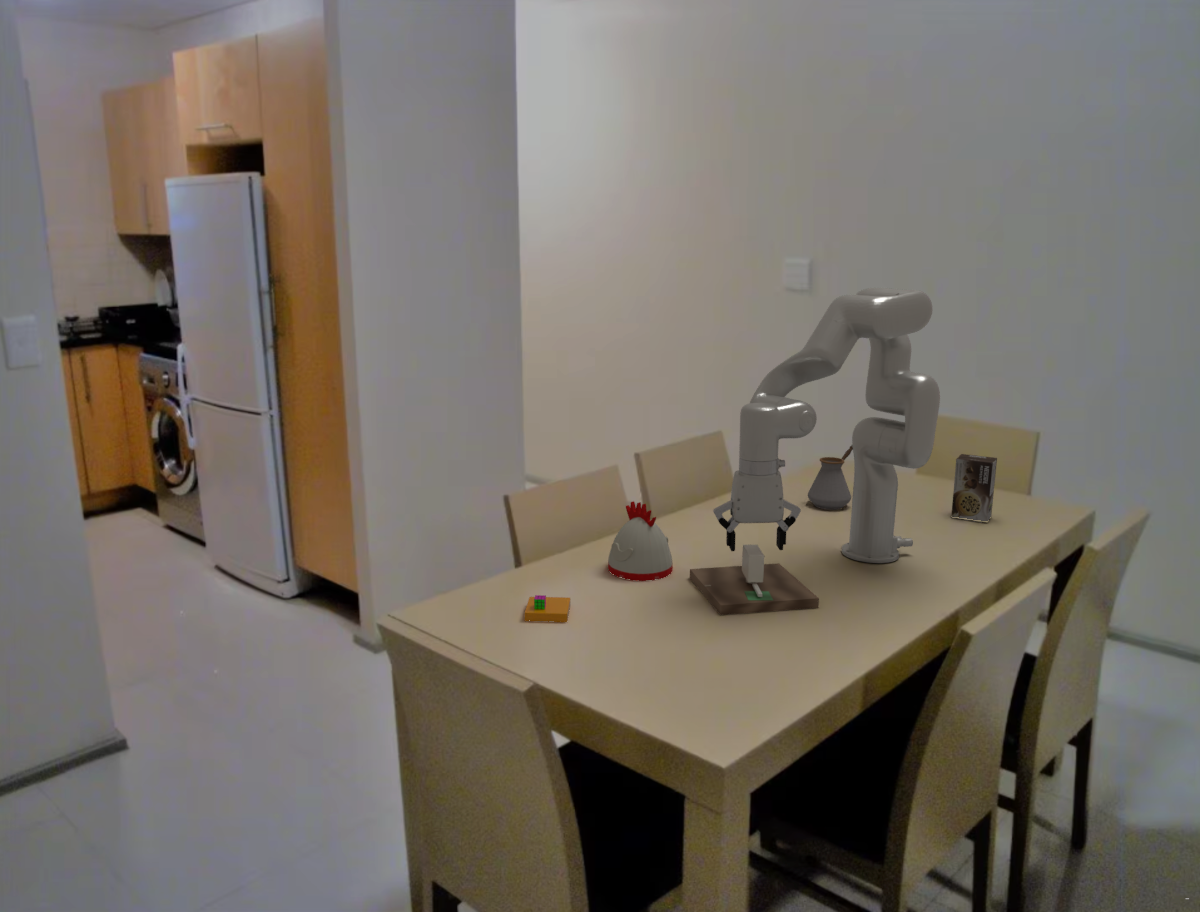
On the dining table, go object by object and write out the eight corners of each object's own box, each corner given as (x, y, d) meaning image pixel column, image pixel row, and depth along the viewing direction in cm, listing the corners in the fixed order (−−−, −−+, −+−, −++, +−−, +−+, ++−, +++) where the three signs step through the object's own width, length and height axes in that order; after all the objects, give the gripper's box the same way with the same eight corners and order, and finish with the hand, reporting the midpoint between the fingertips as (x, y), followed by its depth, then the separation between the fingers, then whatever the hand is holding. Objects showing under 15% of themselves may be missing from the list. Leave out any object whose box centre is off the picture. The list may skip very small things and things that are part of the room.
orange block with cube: (529, 607, 178) (529, 586, 177) (570, 608, 178) (570, 587, 177) (524, 623, 170) (524, 602, 170) (567, 624, 170) (567, 603, 169)
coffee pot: (839, 514, 239) (843, 458, 236) (799, 506, 246) (802, 452, 243) (871, 497, 256) (876, 445, 252) (833, 490, 263) (837, 439, 259)
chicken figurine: (638, 554, 208) (640, 490, 204) (685, 570, 198) (687, 503, 195) (594, 569, 198) (595, 502, 195) (641, 586, 188) (642, 516, 185)
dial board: (778, 572, 197) (779, 562, 197) (818, 607, 178) (819, 597, 177) (689, 578, 193) (689, 568, 193) (720, 615, 174) (720, 604, 174)
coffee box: (991, 518, 238) (998, 457, 234) (987, 524, 233) (994, 462, 229) (955, 512, 243) (961, 453, 239) (949, 518, 237) (955, 457, 234)
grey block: (741, 575, 188) (742, 544, 187) (755, 575, 188) (757, 544, 187) (752, 597, 177) (754, 564, 175) (767, 597, 177) (769, 564, 175)
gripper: (797, 460, 183) (794, 541, 188) (711, 462, 183) (710, 543, 187) (806, 470, 176) (803, 554, 180) (717, 472, 176) (715, 556, 180)
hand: (755, 548), depth 184 cm, fingers open, 9 cm apart
